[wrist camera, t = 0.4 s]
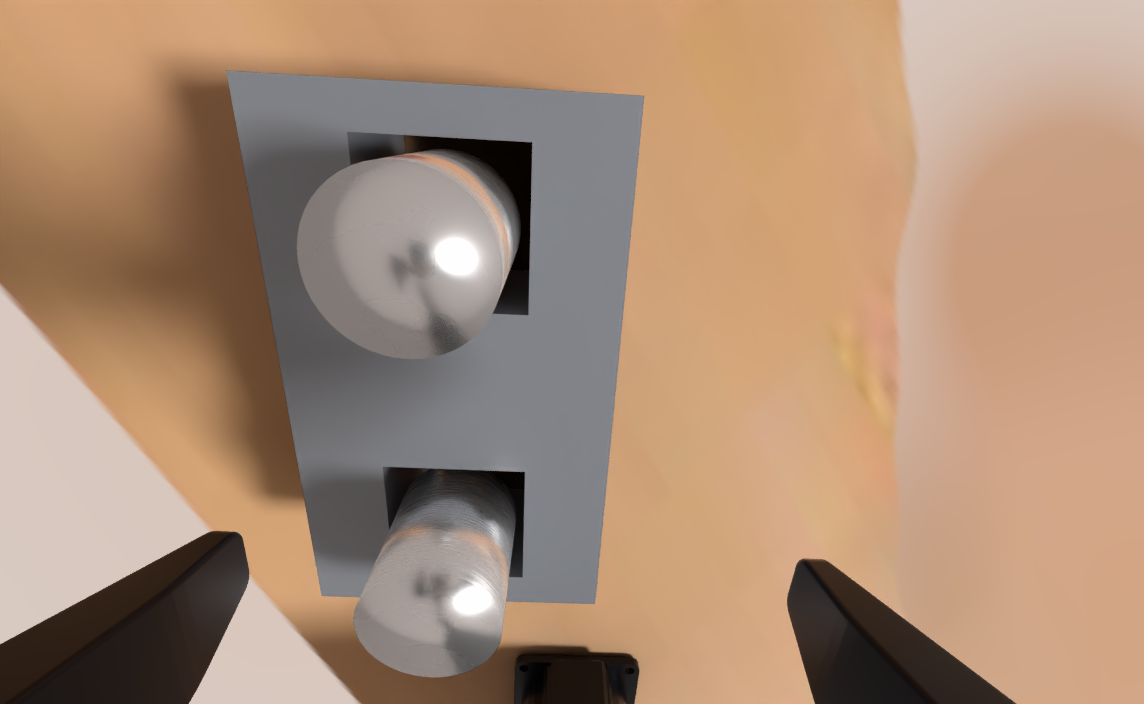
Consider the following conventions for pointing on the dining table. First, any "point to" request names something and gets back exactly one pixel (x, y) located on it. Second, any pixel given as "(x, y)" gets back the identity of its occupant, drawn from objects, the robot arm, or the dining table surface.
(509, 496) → the peg
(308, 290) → the peg
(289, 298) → the socket block
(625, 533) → the dining table surface
